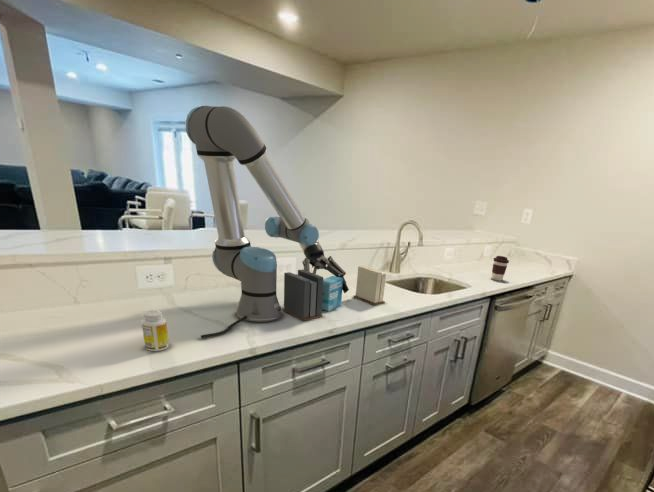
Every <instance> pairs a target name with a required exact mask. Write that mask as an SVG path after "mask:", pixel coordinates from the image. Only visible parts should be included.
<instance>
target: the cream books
mask: <svg viewBox="0 0 654 492" xmlns="http://www.w3.org/2000/svg"><path fill="white" fill-rule="evenodd" d="M356 275H357V277H356V288H355V295H353V298H354V299H356V300H359V301H362V302H364V303H368V304H370V305H372V306H378V305H382V304H385V303H386V302H385V300H384V294H385V287H386V278H387V273H386V272H383V271H379V270H377V269H373V268H370V267H367V266H365V265H358V267H357V274H356Z"/></svg>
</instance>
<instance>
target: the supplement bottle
mask: <svg viewBox="0 0 654 492" xmlns="http://www.w3.org/2000/svg"><path fill="white" fill-rule="evenodd" d="M143 316H144V317H143V318H144V319H142V320H141V327H142V334H143V341H144V347H145V349H146V350H147V351H151V352H160V351H164V350H167V349H168V348H169V347H170V343H169V335H168V327H167V320H166V319H165V318H164V317H163V314H162V312H161V311H159V310H148V311H145V312H144V313H143Z"/></svg>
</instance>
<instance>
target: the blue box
mask: <svg viewBox="0 0 654 492" xmlns="http://www.w3.org/2000/svg"><path fill="white" fill-rule="evenodd" d="M342 288H343V279H342V278H340V277H336V276H335V275H331V276H329V277H325V278H323V294H324V295H323V296H322V311H326V312H331V311H332V310H335V309H337V308H338V307H340V306H341V305H342V298H343V290H342Z"/></svg>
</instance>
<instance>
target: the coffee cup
mask: <svg viewBox="0 0 654 492" xmlns="http://www.w3.org/2000/svg"><path fill="white" fill-rule="evenodd" d="M509 263H510V260H509V259H508V257H506V256H503V255H496V256H495V257H493V264H492V269H491V280H494V281H499V282H501V281H503V278H504V276H505V273H506V271H507V268H508V264H509Z"/></svg>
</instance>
